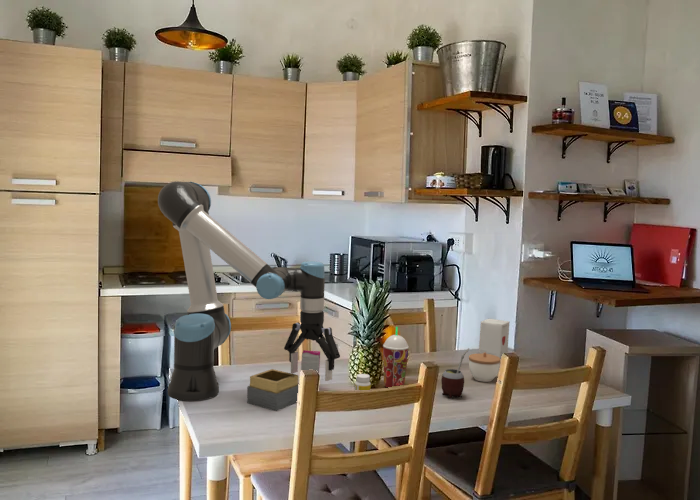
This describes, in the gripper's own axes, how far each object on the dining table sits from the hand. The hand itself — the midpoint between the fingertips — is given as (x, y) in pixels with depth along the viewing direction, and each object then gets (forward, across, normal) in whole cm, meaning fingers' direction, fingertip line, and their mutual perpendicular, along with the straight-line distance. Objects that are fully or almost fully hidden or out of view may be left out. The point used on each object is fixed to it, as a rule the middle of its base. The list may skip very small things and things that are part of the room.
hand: (311, 376), depth 201 cm
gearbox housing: (+4, 0, +18) cm, 19 cm away
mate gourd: (+5, -40, -22) cm, 45 cm away
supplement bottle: (+4, -21, +2) cm, 21 cm away
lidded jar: (+5, -41, -46) cm, 61 cm away
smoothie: (+4, -21, -18) cm, 28 cm away
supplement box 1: (+4, 0, 0) cm, 4 cm away
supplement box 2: (+5, -34, -75) cm, 82 cm away
